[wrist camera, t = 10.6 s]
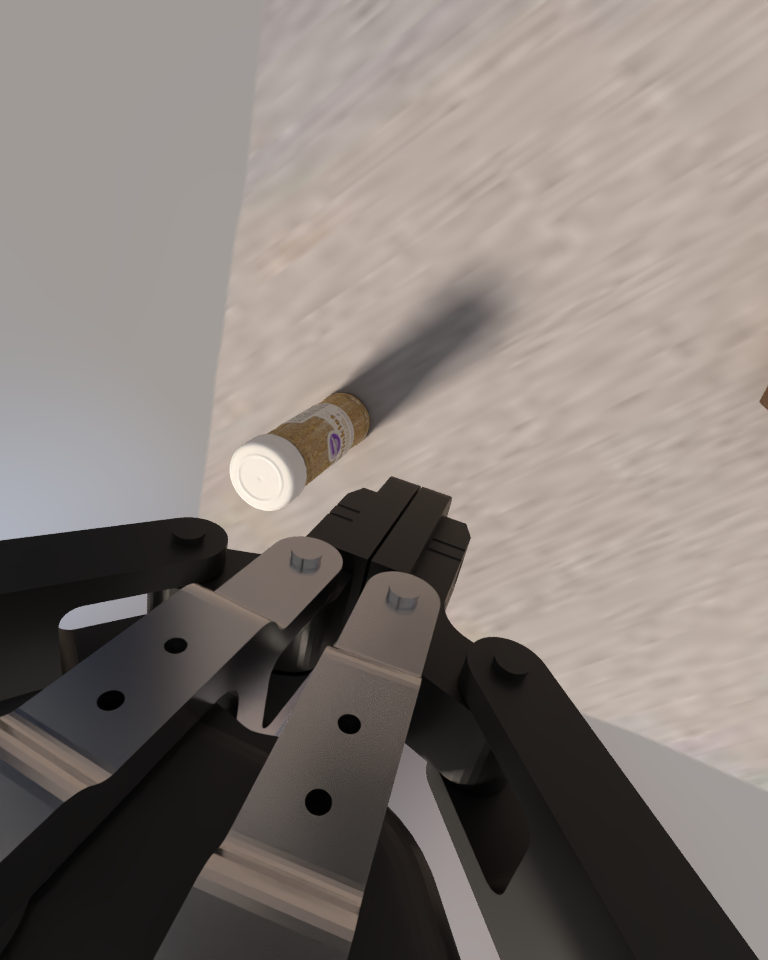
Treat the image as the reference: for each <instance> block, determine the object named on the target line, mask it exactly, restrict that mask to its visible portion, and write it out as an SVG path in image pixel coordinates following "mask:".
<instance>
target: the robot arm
mask: <svg viewBox="0 0 768 960" xmlns="http://www.w3.org/2000/svg"><path fill="white" fill-rule="evenodd" d="M451 501H452V497H451V496H448V495H445V494H442V493H439V492H436V491H433V490H430V489H427V488H425V487H422V488H421V486H419V485H416V484H413V483H410V482H407V481H404V480H401V479H398V478H395V477H392V476H391V477H390V478H389V479H388V480H387V482H386V483H385V484H384V485H383V486H382V487H381V489H380V490H379V491H378V492H374V491H371V490H369V489H366V488H362V489H360V490H357V491H354V492H351V493H348V494H347V495H346V496H345V497H344V498H343V499H342V500H341V501H340V502H339V503H338V505H337V506H335V507H334V508H333V509H332V510H331V511H330V514H327V515H326V516H325V517H324V519H323V520H322V521H321V522H320V523H319V524H318V525H317V526H316V527H315V528H314V529H313V530H312V531H311V532H310V533H309V534H308V535H307V536H306V537H302V536H298V537H289V538H285V539H282V540H280V541H278V542H276V543H275V544H274V545H272V546H271V547H270V548H269V549H267V550H266V551H265V552H264V553H262V554H256V553H249V552H243V551H237V550H231V549H227V544H228V536H227V534H226V532H225V531H224V529H223V528H222V527H220V526H219V525H217V524H216V523H213V522H211V521H208V520H205V519H200V518H192V517H184V518H174V519H166V520H158V521H151V522H143V523H135V524H127V525H119V526H111V527H103V528H96V529H88V530H80V531H72V532H65V533H56V534H48V535H41V536H34V537H25V538H18V539H10V540H2V541H0V960H461V959H460V956H459V953H458V950H457V947H456V944H455V941H454V938H453V935H452V932H451V929H450V926H449V923H448V919H447V916H446V914H445V910H444V907H443V904H442V901H441V898H440V895H439V892H438V889H437V886H436V883H435V880H434V877H433V875H432V872H431V870H430V868H429V866H428V863H427V861H426V859H425V857H424V855H423V853H422V851H421V849H420V847H419V846H418V844H417V843H416V841H415V839H414V838H413V836H412V834H411V833H410V832H409V831H408V829H407V828H406V827H405V825H404V824H403V823H402V821H401V820H400V819H399V818H398V817H397V816H396V814H395V813H393V811H392V810H391V809H390V808H389V807H388V802H389V798H390V795H391V791H392V787H393V784H394V780H395V776H396V772H397V769H398V765H399V762H400V758H401V754H402V751H403V747H404V743H406V744H407V745H408V746H409V747H410V748H412V749H413V750H414V751H415V752H416V753H418V754H419V755H420V756H421V757H422V758H423V759H425V760H426V761H427V766H426V774H427V780H428V783H429V786H430V788H431V790H432V793H433V795H434V798H435V800H436V803H437V805H438V808H439V810H440V813H441V815H442V817H443V820H444V822H445V825H446V827H447V830H448V832H449V835H450V837H451V839H452V842H453V844H454V847H455V849H456V852H457V854H458V857H459V859H460V862H461V864H462V866H463V869H464V871H465V874H466V876H467V879H468V881H469V883H470V886H471V889H472V891H473V893H474V896H475V898H476V901H477V903H478V906H479V908H480V910H481V913H482V915H483V918H484V920H485V923H486V925H487V928H488V930H489V932H490V935H491V937H492V940H493V942H494V945H495V947H496V950H497V952H498V955H499V957H500V959H501V960H759V959H758V958H757V956H756V955H755V954H754V952H753V951H752V949H751V948H750V947H749V946H748V944H747V943H746V941H745V940H744V938H743V937H742V936H741V934H740V933H739V931H738V930H737V929H736V928H735V926H734V925H733V923H732V922H731V920H730V919H729V918H728V916H727V915H726V914H725V912H724V911H723V910H722V908H721V907H720V905H719V904H718V903H717V901H716V900H715V899H714V897H713V896H712V894H711V893H710V891H709V890H708V889H707V887H706V886H705V885H704V883H703V882H702V880H701V879H700V878H699V876H698V875H697V873H696V872H695V871H694V869H693V868H692V867H691V865H690V864H689V862H688V861H687V860H686V858H685V857H684V856H683V854H682V853H681V852H680V850H679V849H678V847H677V846H676V845H675V843H674V842H673V840H672V839H671V838H670V836H669V835H668V834H667V832H666V831H665V830H664V828H663V827H662V825H661V824H660V822H659V821H658V820H657V818H656V817H655V816H654V814H653V813H652V811H651V810H650V809H649V807H648V806H647V805H646V803H645V802H644V800H643V799H642V798H641V796H640V795H639V794H638V792H637V791H636V789H635V788H634V787H633V785H632V784H631V783H630V781H629V780H628V778H627V777H626V776H625V775H624V773H623V771H622V770H621V769H620V767H619V766H618V765H617V763H616V762H615V761H614V759H613V758H612V756H611V755H610V754H609V752H608V751H607V749H606V748H605V747H604V745H603V744H602V743H601V741H600V740H599V738H598V737H597V736H596V734H595V733H594V732H593V730H592V729H591V727H590V726H589V725H588V723H587V722H586V720H585V719H584V718H583V716H582V715H581V714H580V712H579V711H578V709H577V708H576V707H575V705H574V704H573V702H572V701H571V700H570V698H569V697H568V696H567V694H566V693H565V691H564V690H563V689H562V687H561V686H560V685H559V683H558V682H557V680H556V679H555V678H554V676H553V675H552V674H551V672H550V671H549V669H548V668H547V667H546V665H545V664H544V663H543V661H542V660H541V659H540V658H539V657H538V656H537V655H536V654H535V653H533V652H532V651H531V650H530V649H528V648H526V647H525V646H523V645H521V644H519V643H517V642H515V641H512V640H509V639H505V638H499V637H487V638H482V639H480V640H477V641H476V642H474V643H473V642H472V641H470V640H469V639H467V638H466V637H464V636H463V635H462V634H461V633H459V632H458V631H457V630H456V629H455V628H454V627H453V625H452V624H451V623H450V621H449V620H448V618H447V616H446V613H445V610H446V608H447V605H448V602H449V600H450V597H451V595H452V592H453V590H454V587H455V584H456V581H457V578H458V575H459V572H460V569H461V566H462V563H463V560H464V557H465V554H466V550H467V547H468V544H469V541H470V538H471V537H470V534H469V531H468V528H467V525H466V524H465V523H462V522H459V521H456V520H454V519H451V518H448V517H447V515H448V512H449V508H450V505H451ZM146 593H147V595H148V596H147V614H145V615H141V616H135V617H131V618H126V619H121V620H117V621H112V622H108V623H103V624H98V625H94V626H89V627H84V628H80V629H75V630H63V629H60V628H58V627H59V622H60V620H61V619H62V618H63V616H64V615H65V614H67V613H68V612H69V611H71V610H73V609H75V608H77V607H81V606H85V605H90V604H95V603H100V602H105V601H110V600H116V599H120V598H126V597H131V596H136V595H141V594H146ZM291 712H292V713H291ZM290 713H291V715H290V717H289V718H288V721H287V722H286V724H285V726H284V728H283V730H282V732H281V734H280V736H279V737H277V736H273V735H274V734H275V733H276V731H277V730H278V729H279V728H280V726H281V725H282V724H283V722H284V721H285V720H286V718H287V717H288V716H289V714H290Z"/></svg>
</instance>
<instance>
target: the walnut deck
mask: <svg viewBox="0 0 768 960" xmlns="http://www.w3.org/2000/svg"><path fill="white" fill-rule="evenodd" d="M760 403H761V404H762V405H763V406H764V407H765V408H766V409H767V410H768V387H767V389H766V391H765V392H764V394H763V396H762V398H761V400H760Z"/></svg>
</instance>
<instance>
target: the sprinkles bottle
mask: <svg viewBox="0 0 768 960" xmlns="http://www.w3.org/2000/svg"><path fill="white" fill-rule="evenodd" d="M369 424H370V421H369V415H368V412H367V410H366V408H365V406H364V405H363V404H362V403H361V401H360V400H359V399H357V398H355V397H354V396H352V395H349V394H346V393H335V394H333V395H330V396H328V397H327V398H326V399H324V401H322V402H321V403H319V404H317V405H314V406H312V407H311V408H309V409H307V410H306V411H304V412H302V413H300V414H299V415H297V416H295V417H294V418H292V419H290V420H289V421H287V422H285V423H283V424H282V425H280V426H279V427H277V428H276V429H274V430H272V431H271V432H269V433H268V434H263V435H259V436H257V437H255V438H253V439H251V440H250V441H248V442H246V443H245V444H243V445H242V446H240V447H239V448H238V449H237V450H236V451H235V453H234V455H233V457H232V459H231V463H230V476H231V480H232V483H233V485H234V487H235V489H236V491H237V492H238V494H239V495H240V496H241V497H242V499H243V500H245V501H246V502H247V503H248V504H250V505H251V506H253V507H255V508H257V509H261V510H265V511H274V510H278V509H281V508H283V507H285V506H286V505H287V504H289V503H290V502H291V501H293V500H294V499H295V498H296V497H297V496H299V495H300V493H301V492H302V491H303V489H304V487H305V486H306V485H307V484H308V483H310V482H311V481H312V480H314V479H315V478H316V477H317V476H318V475H320V474H321V473H322V472H323V471H324V470H326V469H328V468H329V467H330V466H332V465H333V464H334V463H335V462H337V461H338V460H339V459H340V458H341V457H343V456H344V455H345V454H346V453H347V452H348V451H349V450H350V449H351V448H352V447H353V446H354V445H357V444H358V443H360V442H361V441H362V440H363V439H364V438H365V437H366V435H367V433H368V428H369Z"/></svg>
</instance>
